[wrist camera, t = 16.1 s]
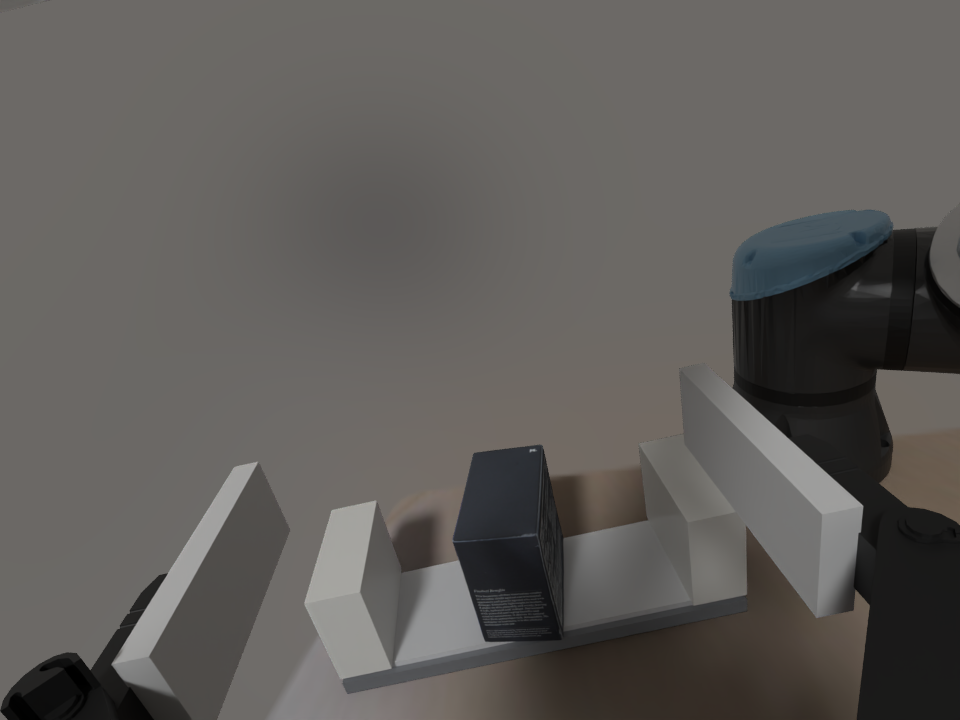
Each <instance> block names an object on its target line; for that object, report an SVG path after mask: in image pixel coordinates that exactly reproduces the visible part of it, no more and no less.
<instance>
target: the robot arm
mask: <svg viewBox="0 0 960 720" xmlns="http://www.w3.org/2000/svg"><path fill="white" fill-rule="evenodd" d="M44 1H48V0H0V13H2V12H5V11H9V10H13V9H17V8H21V7H25V6H29V5H33V4H37V3H41V2H44ZM730 296H731V299H732V318H733V349H734V385H733V388H732V387H731V386H729V385H728V384H727V383H726V382H725V381H724V380H723V379H722V378H720V377H719V376H718V375H717V374H716V373H715V372H714V371H713V370H712V369H710V368H709V367H708V366H707V365H706V364H705V363H702V364H697V365H693V366H688V367H684V368H679V371H680V372H679V373H680V385H681V386H680V387H681V398H682V399H681V400H682V413H683V428H684V442H685V446H686V447H687V448H688V450H689V451H690V452H691V454H692V455H693V456H694V457H695V459H696V460H697V461H698V463H699V464H700V465H701V467H702V468H703V469H704V471H705V472H706V473H707V475H708V476H709V477H710V479H711V480H712V481H713V482H714V484H715V485H716V486H717V488H718V489H719V490H720V492H721V493H722V494H723V496H724V497H725V498H726V500H727V501H728V502H729V503H730V505H731V506H732V507H733V509H734V510H735V511H736V513H737V514H738V515H739V517H740V518H741V519H742V521H743V522H744V523H745V525H746V526H747V527H748V528H749V530H750V531H751V532H752V534H753V535H754V536H755V538H756V539H757V540H758V542H759V543H760V544H761V546H762V547H763V548H764V550H765V551H766V552H767V553H768V555H769V556H770V557H771V559H772V560H773V561H774V563H775V564H776V565H777V567H778V568H779V569H780V571H781V572H782V573H783V574H784V576H785V577H786V578H787V580H788V581H789V582H790V584H791V585H792V586H793V588H794V589H795V590H796V592H797V593H798V594H799V596H800V597H801V598H802V599H803V601H804V602H805V603H806V605H807V606H808V607H809V609H810V610H811V611H812V613H813V614H814V615H815V617H816V618H819V617H824V616H829V615H834V614H838V613H843V612H848V611H853V610H854V599H855V589H856V590H857V591H858V592H859V594H860V595H861V596H862V597H863V598H864V599H865V600H866V601H867V603H868V604H869V605H870V610H869V618H868V627H867V635H866V644H865V653H864V661H863V670H862V678H861V687H860V695H859V704H858V713H857V720H960V525H959V524H958V523H957V522H955V521H953V520H951V519H949V518H948V517H946V516H944V515H942V514H939V513H936V512H933V511H929V510H926V509H920V508H910V507H907V506H906V505H905V504H903V503H902V502H901V501H900V500H899V499H897V498H896V497H895V496H894V495H892V494H891V493H890V492H889V491H887V490H886V489H885V488H884V487H883V486H881V485H880V484H879V483H880V482H881V481H882V480H883V479H884V478H885V477H886V476H887V474H888V473H889V471H890V468H891V461H892V452H893V440H892V436H891V433H890V430H889V427H888V424H887V422H886V419H885V416H884V413H883V410H882V407H881V404H880V402H879V399H878V396H877V393H876V390H875V383H876V373H877V369H884V370H901V371H902V370H904V371H921V372H939V373H956V374H960V204H958V205H957V206H956V207H955V208H954V209H953V210H952V211H951V212H950V213H949V214H948V215H947V216H946V217H945V218H944V219H943V221H942V222H941V223H940V225H939V226H938V227H926V228H915V229H901V230H893V223H892V222H891V221H890V218H889V216H888V215H887V214H886V213H884V212H881V211H875V210H863V211H855V210H846V211H837V212H830V213H823V214H818V215H813V216H808V217H804V218H800V219H796V220H792V221H788V222H785V223H782V224H779V225H776V226H773V227H770V228H768V229H766V230H763V231H761V232H759V233H757V234H755V235H753V236H751V237H750V238H749V239H747V240H746V241H744V242H743V243H742V244H741V246H739V248H738V249H737V251H736V253H735V255H734V258H733V270H732V287H731V289H730ZM289 532H290V528H289V526H288V524H287V522H286V520H285V517H284V515H283V513H282V511H281V509H280V507H279V505H278V502H277V500H276V498H275V496H274V494H273V492H272V489H271V487H270V485H269V483H268V481H267V479H266V476H265V475H264V472H263V470H262V468H261V466H260V464H259V462H255V463H250V464H245V465H241V466H236V467H234V469H233V470H232V472H231V474H230V475H229V477H228V478H227V480H226V481H225V483H224V485H223V486H222V488H221V490H220V491H219V493H218V494H217V496H216V498H215V499H214V501H213V502H212V504H211V506H210V507H209V509H208V510H207V512H206V514H205V515H204V517H203V518H202V520H201V522H200V523H199V525H198V526H197V528H196V530H195V531H194V533H193V534H192V536H191V538H190V539H189V541H188V542H187V544H186V546H185V547H184V549H183V550H182V552H181V554H180V555H179V557H178V559H177V560H176V562H175V563H174V565H173V566H172V568H171V570H170V571H169V573H167V574H163V575H159V576H158V577H157V578H156V579H155V580H154V581H153V582H152V583H151V584H150V585H149V586H148V587H147V588H146V589H145V590H144V591H143V592H142V593H141V594H140V596H139V597H138V599H137V600H136V602H135V603H134V605H133V606H132V608H131V609H130V614H127V616H126V617H125V618H124V620H123V622H122V623H121V625H120V629H118V630H117V631H116V632H115V634H114V635H113V637H112V638H111V640H110V641H109V643H108V644H107V646H106V648H105V649H104V650H103V652H102V654H101V655H100V657H99V658H98V660H97V661H96V663H95V664H94V666H93V667H92V669H91V670H89V668H88V667H87V666H86V665H85V663H84V662H83V660H82V659H81V658H80V657H79V656H78V655H77V653H63V654H61V655H57V656H54V657H52V658H50V659H48V660H46V661H44V662H42V663H41V664H39V665H38V666H36V667H35V668H33V669H32V670H31V671H29V672H28V673H27V674H25V675H24V676H23V677H22V678H21V679H20V680H19V681H18V682H17V683H16V684H15V685H14V686H13V687H12V688H11V690H10V691H9V693H8V694H7V696H6V697H5V698H4V700H3V703H2V706H1V710H0V711H1V713H2V714H3V715H4V716H5V717H6V718H7V719H8V720H217V718H218V715H219V713H220V710H221V708H222V705H223V703H224V700H225V698H226V695H227V692H228V689H229V687H230V685H231V682H232V679H233V677H234V674H235V672H236V669H237V667H238V664H239V661H240V659H241V656H242V653H243V651H244V648H245V646H246V643H247V640H248V638H249V636H250V633H251V630H252V628H253V625H254V623H255V620H256V617H257V615H258V612H259V609H260V607H261V604H262V602H263V599H264V597H265V594H266V591H267V589H268V586H269V584H270V581H271V579H272V576H273V573H274V570H275V568H276V566H277V563H278V561H279V558H280V555H281V553H282V550H283V548H284V545H285V542H286V540H287V537H288V535H289Z"/></svg>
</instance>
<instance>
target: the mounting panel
mask: <svg viewBox="0 0 960 720" xmlns="http://www.w3.org/2000/svg"><path fill="white" fill-rule="evenodd" d="M563 552H564V631H563V633H564V638H563V639H562V640H558V641H520V642H485V640H484V638H483V635H482V632H481V628H480V625H479V622H478V618H477V615H476V612H475V609H474V606H473V603H472V600H471V597H470V593H469V590H468V587H467V584H466V581H465V578H464V575H463V571H462V569H461V566H460V562H459V561H454V562H449V563H445V564H440V565H435V566H431V567H426V568H421V569H417V570H412V571H407V572H403V573H401V580H400V591H399V601H398V611H397V622H396V632H395V642H394V652H393V663H392V669H388V670H383V671H378V672H373V673H369V674H364V675H359V676H354V677H349V678H345V679H343V686H344V688H345V690H346V692H347V694H349V693H354V692H359V691H364V690H369V689H373V688H378V687H383V686H388V685H393V684H398V683H402V682H407V681H412V680H417V679H422V678H427V677H431V676H436V675H441V674H446V673H451V672H455V671H460V670H465V669H470V668H475V667H480V666H484V665H489V664H494V663H499V662H504V661H509V660H513V659H518V658H523V657H528V656H533V655H537V654H542V653H547V652H552V651H557V650H562V649H566V648H571V647H576V646H581V645H586V644H591V643H595V642H600V641H605V640H610V639H615V638H620V637H624V636H629V635H634V634H639V633H644V632H648V631H653V630H658V629H663V628H668V627H673V626H677V625H682V624H687V623H692V622H697V621H702V620H706V619H711V618H716V617H721V616H726V615H730V614H735V613H740V612H745V611H747V598H746V597H745V595H743V596H739V597H734V598H729V599H724V600H719V601H715V602H710V603H705V604H700V605H695V606H693V604H692V602H691V600H690V598H689V596H688V594H687V592H686V590H685V588H684V587H683V585H682V583H681V581H680V579H679V577H678V575H677V573H676V571H675V569H674V568H673V566H672V564H671V562H670V560H669V558H668V556H667V554H666V552H665V550H664V548H663V547H662V545H661V543H660V541H659V539H658V537H657V535H656V533H655V531H654V529H653V528H652V526H651V524H650V522H649V520H646V521H642V522H637V523H632V524H628V525H623V526H618V527H614V528H609V529H604V530H599V531H595V532H590V533H585V534H581V535H576V536H571V537H567V538H563Z"/></svg>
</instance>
